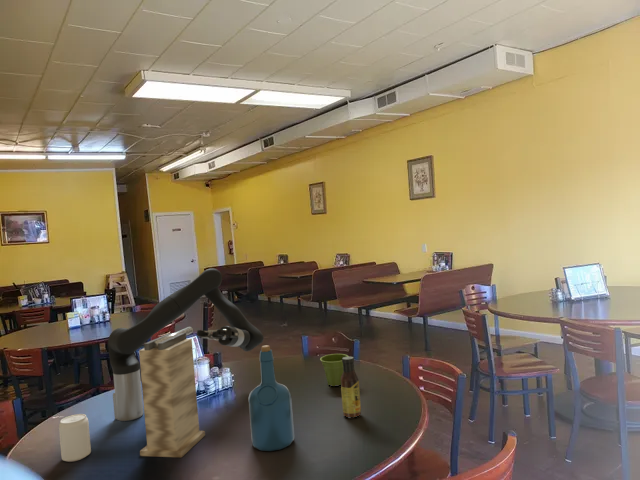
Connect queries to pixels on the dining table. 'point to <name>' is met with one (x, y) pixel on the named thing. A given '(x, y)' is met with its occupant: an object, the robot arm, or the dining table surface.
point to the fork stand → (169, 397)
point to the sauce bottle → (350, 389)
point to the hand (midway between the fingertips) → (207, 332)
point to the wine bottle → (270, 409)
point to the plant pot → (333, 368)
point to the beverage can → (74, 437)
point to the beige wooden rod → (186, 330)
